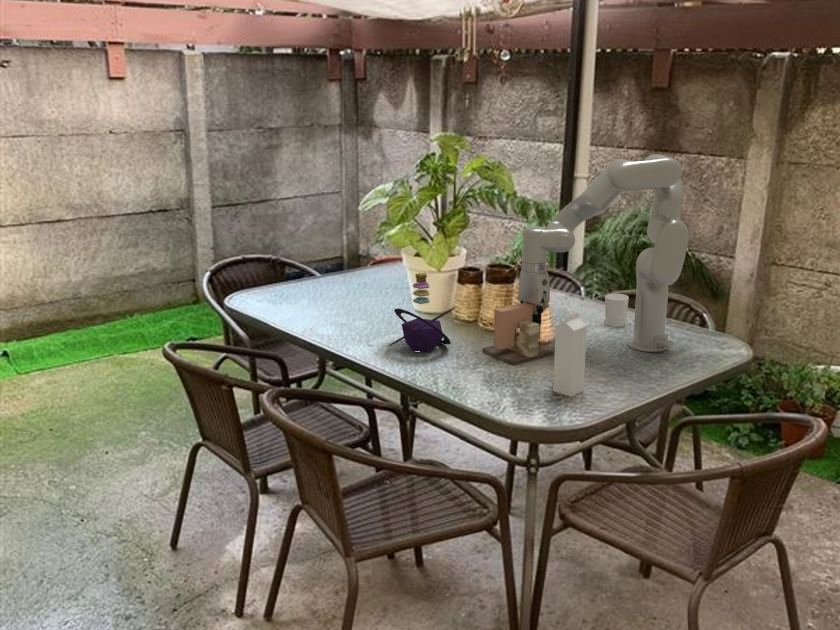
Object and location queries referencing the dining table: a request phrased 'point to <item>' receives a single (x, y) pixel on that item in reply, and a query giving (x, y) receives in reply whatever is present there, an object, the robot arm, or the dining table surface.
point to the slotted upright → (521, 346)
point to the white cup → (616, 309)
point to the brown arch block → (510, 323)
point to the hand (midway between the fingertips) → (532, 323)
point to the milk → (570, 356)
